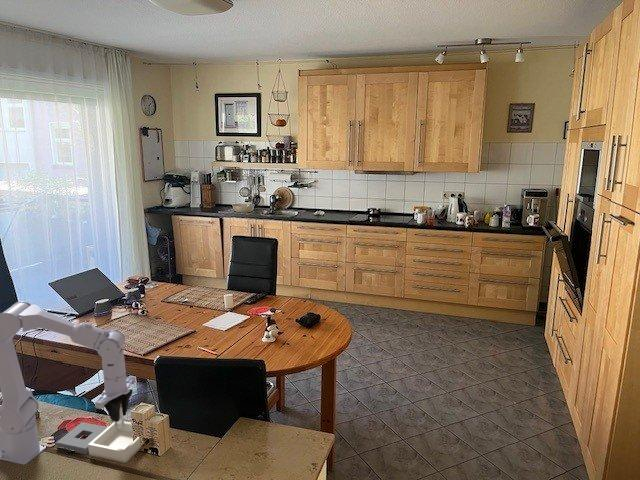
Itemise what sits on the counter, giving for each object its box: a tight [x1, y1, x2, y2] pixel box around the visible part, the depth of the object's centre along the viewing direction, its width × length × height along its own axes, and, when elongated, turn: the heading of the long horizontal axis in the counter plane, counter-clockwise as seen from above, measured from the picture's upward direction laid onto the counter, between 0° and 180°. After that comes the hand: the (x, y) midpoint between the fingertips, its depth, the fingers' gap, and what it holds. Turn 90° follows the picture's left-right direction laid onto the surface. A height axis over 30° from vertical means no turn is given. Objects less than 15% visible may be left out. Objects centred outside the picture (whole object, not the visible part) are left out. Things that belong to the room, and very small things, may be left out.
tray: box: [88, 420, 141, 464], centre depth 135 cm, size 12×12×4 cm
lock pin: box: [114, 402, 125, 429], centre depth 133 cm, size 2×2×8 cm
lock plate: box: [55, 421, 109, 456], centre depth 137 cm, size 10×10×2 cm
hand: (118, 417), depth 133 cm, fingers closed on lock pin, 2 cm apart
